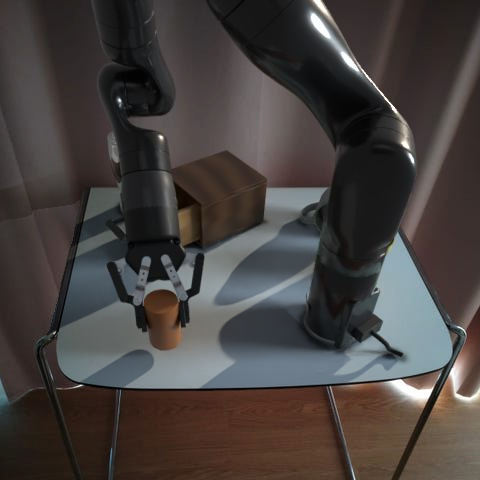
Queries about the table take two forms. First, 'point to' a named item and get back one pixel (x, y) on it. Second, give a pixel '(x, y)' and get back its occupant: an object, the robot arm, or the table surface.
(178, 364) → the table surface
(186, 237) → the drawer
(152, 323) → the orange cylinder
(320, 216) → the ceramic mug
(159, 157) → the robot arm
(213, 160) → the cabinet
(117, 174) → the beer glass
